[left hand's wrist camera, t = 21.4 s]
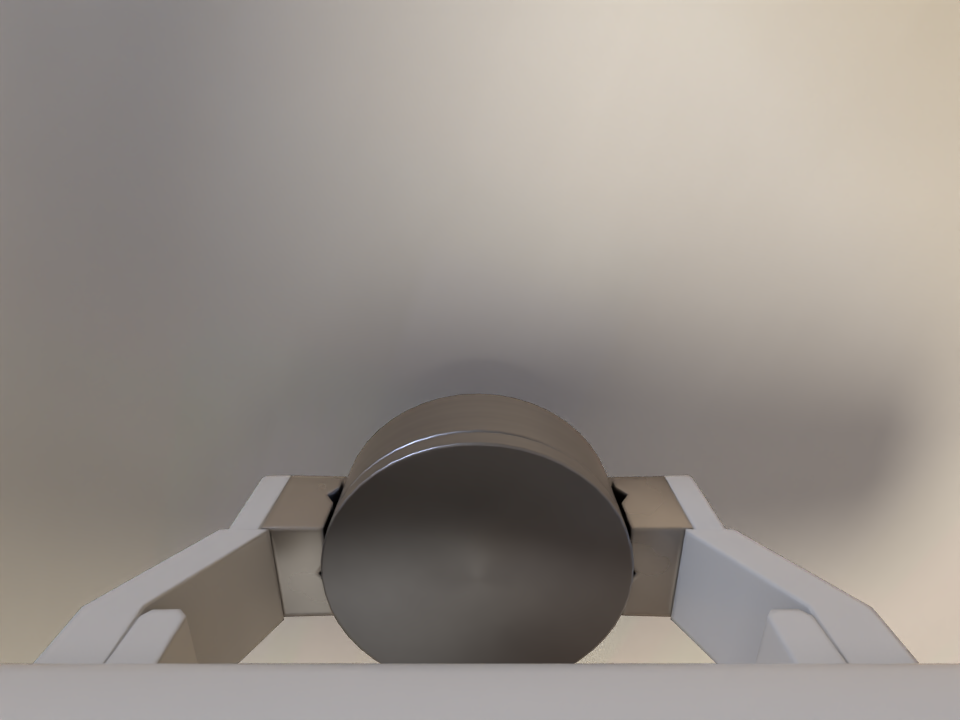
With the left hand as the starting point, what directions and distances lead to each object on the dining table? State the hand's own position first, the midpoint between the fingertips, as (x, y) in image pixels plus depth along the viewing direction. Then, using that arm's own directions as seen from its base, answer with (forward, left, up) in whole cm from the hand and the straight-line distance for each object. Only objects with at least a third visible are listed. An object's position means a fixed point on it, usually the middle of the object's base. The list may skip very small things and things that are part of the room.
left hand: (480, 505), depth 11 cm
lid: (0, 0, +2) cm, 2 cm away
